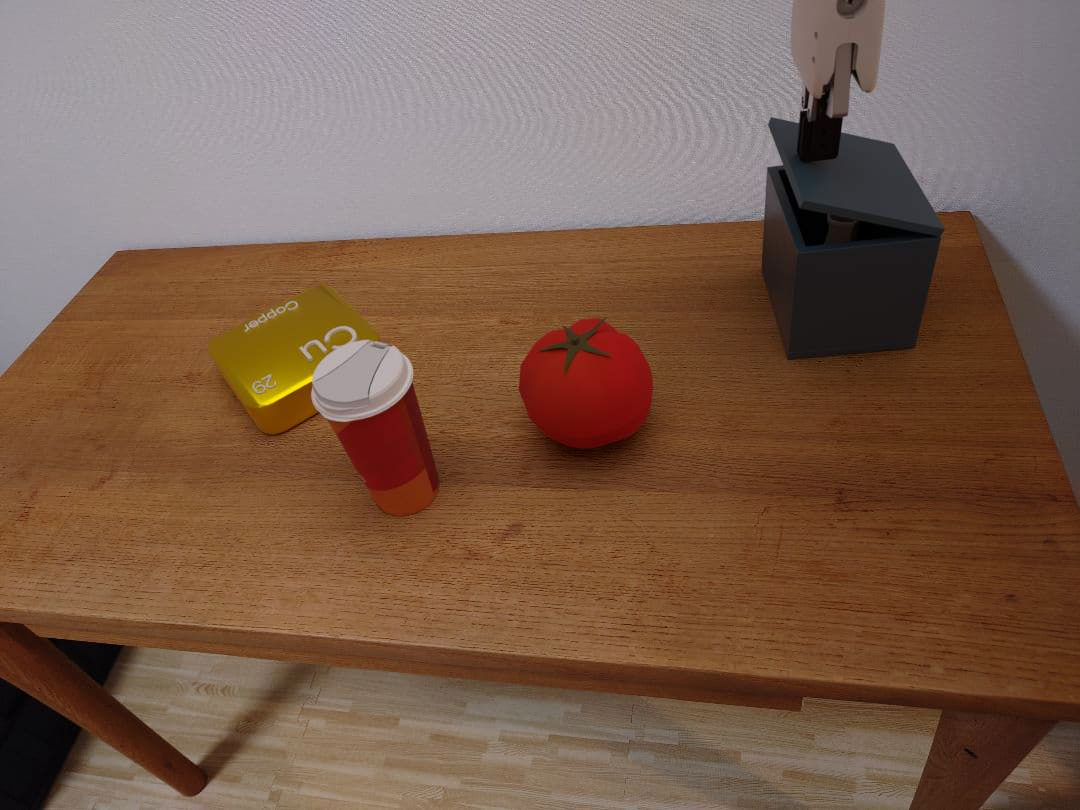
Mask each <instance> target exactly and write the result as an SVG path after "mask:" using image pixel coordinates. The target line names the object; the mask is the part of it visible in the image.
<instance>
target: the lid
mask: <svg viewBox="0 0 1080 810" xmlns="http://www.w3.org/2000/svg"><path fill="white" fill-rule="evenodd" d="M767 126H768V129H769V132H770V134H771V136H772V137H771V138H772V140H773V142H774V144H775V148H776V150H777V153H778V156H779V157H780V160H781V164H782V165H783V166H784V168H785V171H786V174H787V176H788V179H789V181H790V184H791V187H792V189H793V192H794V194H795V197H796V200H797V202H798V205H799V208H801V209H806V210H810V211H815V212H820V213H825V214H830V215H835V216H840V217H845V218H850V219H855V220H860V221H865V222H870V223H875V224H880V225H885V226H889V227H894V228H899V229H904V230H909V231H914V232H919V233H924V234H929V235H934V236H939V237H940V236H942V235H943V234H944V232H945V231H946V228H945V226H944V224H943V223H942V221H941V219H940V217H939V216H938V215H937V213H936V211H935V210H934V208H933V206H932V204H931V203H930V201H929V199H928V198H927V196H926V194H925V193H924V191H923V189H922V188H921V186H920V184H919V183H918V181H917V179H916V178H915V176H914V175H913V173H912V170H911V169H910V168H909V166H908V164H907V163H906V161H905V159H904V158H903V156H902V154H901V153H900V150H899V149H898V147H897V146H896V145H895V143H892V142H887V141H883V140H878V139H874V138H869V137H865V136H860V135H856V134H851V133H847V132H842V131H841V137H840V145H839V153H838V156H837V158H835V159H830V160H822V161H813V162H805V163H804V162H801V160H800V158H799V155H798V153H797V141H798V129H799V122H796V121H791V120H786V119H782V118H776V117H773V116H771V117H770V119H769V121H768V123H767Z"/></svg>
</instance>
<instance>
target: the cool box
mask: <svg viewBox="0 0 1080 810" xmlns="http://www.w3.org/2000/svg"><path fill="white" fill-rule="evenodd" d="M764 198H765V199H764V215H763V233H762V250H761V251H762V252H761V266H760V267H761V269H760V270H761V272H762V276H763V279H764V283H765V287H766V290H767V294H768V297H769V300H770V301H769V302H770V304H771V307H772V310H773V315H774V318H775V321H776V324H777V327H778V331H779V335H780V338H781V341H782V344H783V345H782V346H783V349H784V352H785V356H786V359H787V360H797V359H798V360H799V359H808V358H809V359H810V358H818V357H819V358H820V357H829V356H830V357H831V356H841V355H851V354H852V355H853V354H862V353H872V352H883V351H884V352H885V351H894V350H904V349H905V350H907V349H915V348H916V345H917V340H918V337H919V333H920V329H921V325H922V320H923V317H924V312H925V308H926V304H927V299H928V296H929V292H930V287H931V282H932V279H933V274H934V271H935V265H936V262H937V258H938V254H939V250H940V245H941V242H942V237H941V236H942V235H941V236H940V237H939V236H934V235H929V234H924V233H919V232H914V231H909V230H904V229H899V228H894V227H889V226H885V225H880V224H875V223H870V222H865V221H862V222H860V223H859V225H858V231H857V241H852V242H843V243H833V244H824V242H825V239H826V236H827V233H828V229H829V224H828V220H827V214H825V213H820V212H815V211H810V210H806V209H801V208H799V205H798V202H797V200H796V197H795V194H794V192H793V189H792V187H791V184H790V181H789V179H788V176H787V174H786V171H785V168H784V166H783V164H782V165H781V164H780V165H772V166H767V167H766V180H765V197H764Z"/></svg>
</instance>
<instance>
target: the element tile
mask: <svg viewBox="0 0 1080 810" xmlns="http://www.w3.org/2000/svg"><path fill="white" fill-rule="evenodd" d="M362 340H371V342H375V341H377V342H382V340H381V337H380V335H379V332H378V331H377V330H376V329H375V328H374V327H373V326H372V325H371V324H370V323H369V322H368V321H367V320H366V319H365V318H364V317H363V316H362V315H361V314H359V312H358V311H357V310H355V309H354V308H353V307H352V305H350V304H349V302H347V301H346V300H345V299H344V298H343V297H342V296H341V294H339V293H338V292H337V291H336V289H334V288H333V287H332V286H329V285H326V284H318V285H314V286H312V287H309V288H307V289H305V290H303V291H301V292H299V293H298V294H295V295H293V296H292V297H289V298H288V299H286V300H284V301H281V302H280V303H278V304H276V305H274V306H272V307H270V308H268V309H266V310H264V311H261V312H260V313H259V314H255V316H252V317H250V318H248V319H246V320H244V321H243V322H240V323H238V324H237V325H234V326H233V327H231V328H229V329H227V330H225V331H223V332H221V333H219V334H218V335H216V336H215V337H213V338H212V339H211V340H210V342H209V344H208V346H207V351H208V354H209V356H210V357H211V359H212V361H213V362H214V364H215V366H216V367H217V369H218V371H219V373H220V375H221V376H222V378H223V379H224V381H225V382H226V383H227V385H228V386H229V388H230V389H231V390H232V392H233V394H234V395H235V397H236V398H237V399H238V401H239V402H240V404H241V406H242V407H243V409H244V410H245V411H246V413H247V414H248V415H249V417H250V418H251V420H252V421H253V422H254V424H255V425H256V427H257V429H258V430H259V431H260V432H262V433H264V434H266V435H272V436H273V435H274V436H275V435H278V434H282V433H284V432H286V431H288V430H290V429H292V428H294V427H295V426H297V425H299V424H301V423H303V422H304V421H306V420H308V419H310V418H311V417H313V416H315V415H316V414H318V413H320V412H319V411H318V410H317V409H316V408H315V406H314V405H313V402H312V397H311V392H312V378H313V374H314V371H315V369H316V368H317V366H318V365H319V363H320V362H321V361H322V360H323V359H324V358H325V357H326V356H327V355H329V354H330V353H331V352H333V351H334V350H336V349H338V348H340V347H342V346H344V345H347V344H349V343H353V342H356V341H362Z"/></svg>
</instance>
